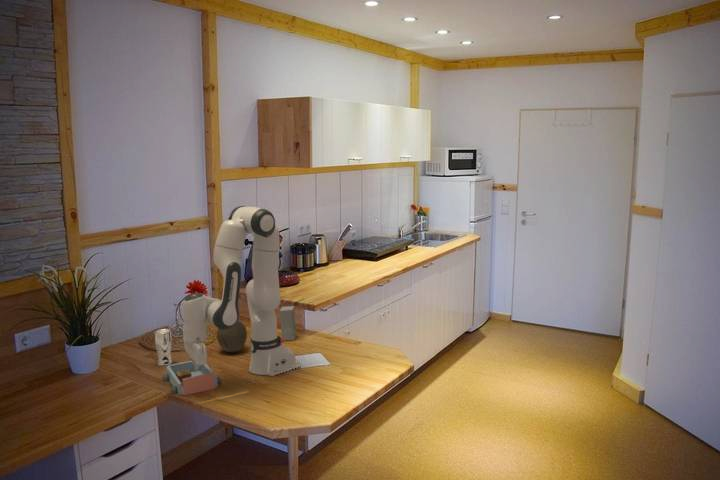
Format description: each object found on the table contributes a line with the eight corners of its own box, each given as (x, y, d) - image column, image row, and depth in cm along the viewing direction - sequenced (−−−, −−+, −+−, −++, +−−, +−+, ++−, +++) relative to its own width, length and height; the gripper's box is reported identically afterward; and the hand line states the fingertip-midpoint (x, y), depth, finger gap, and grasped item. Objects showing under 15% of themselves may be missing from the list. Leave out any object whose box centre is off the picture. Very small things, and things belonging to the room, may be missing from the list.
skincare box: (294, 340, 285) (293, 310, 283) (280, 340, 285) (279, 310, 283) (296, 335, 293) (295, 305, 291) (282, 335, 294) (281, 305, 291)
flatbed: (207, 370, 248) (206, 357, 247) (222, 389, 229) (222, 374, 228) (161, 380, 238) (160, 366, 237) (173, 400, 219) (172, 385, 218)
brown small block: (188, 379, 235) (188, 369, 234) (192, 384, 230) (191, 373, 230) (176, 382, 232) (175, 371, 231) (179, 386, 228) (178, 376, 227)
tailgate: (214, 390, 227) (213, 372, 226) (215, 391, 226) (214, 373, 225) (183, 397, 221) (182, 378, 220) (184, 398, 220) (183, 379, 219)
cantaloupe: (252, 352, 270) (251, 321, 267) (224, 358, 262) (222, 327, 260) (241, 343, 281) (239, 314, 279) (213, 349, 274) (211, 319, 271)
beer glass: (168, 366, 253) (165, 334, 250) (153, 365, 254) (151, 333, 252) (176, 360, 260) (174, 329, 257) (162, 359, 261) (159, 328, 259)
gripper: (210, 341, 217) (211, 376, 219) (196, 326, 234) (196, 359, 236) (194, 343, 214) (194, 379, 216) (180, 329, 231) (181, 361, 233)
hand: (195, 368), depth 226 cm, fingers closed
